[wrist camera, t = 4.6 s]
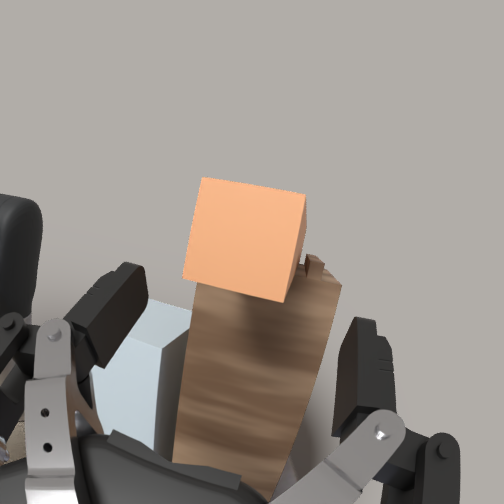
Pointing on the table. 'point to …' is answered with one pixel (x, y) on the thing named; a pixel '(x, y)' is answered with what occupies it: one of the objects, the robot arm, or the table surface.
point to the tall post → (252, 375)
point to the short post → (146, 379)
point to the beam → (246, 238)
